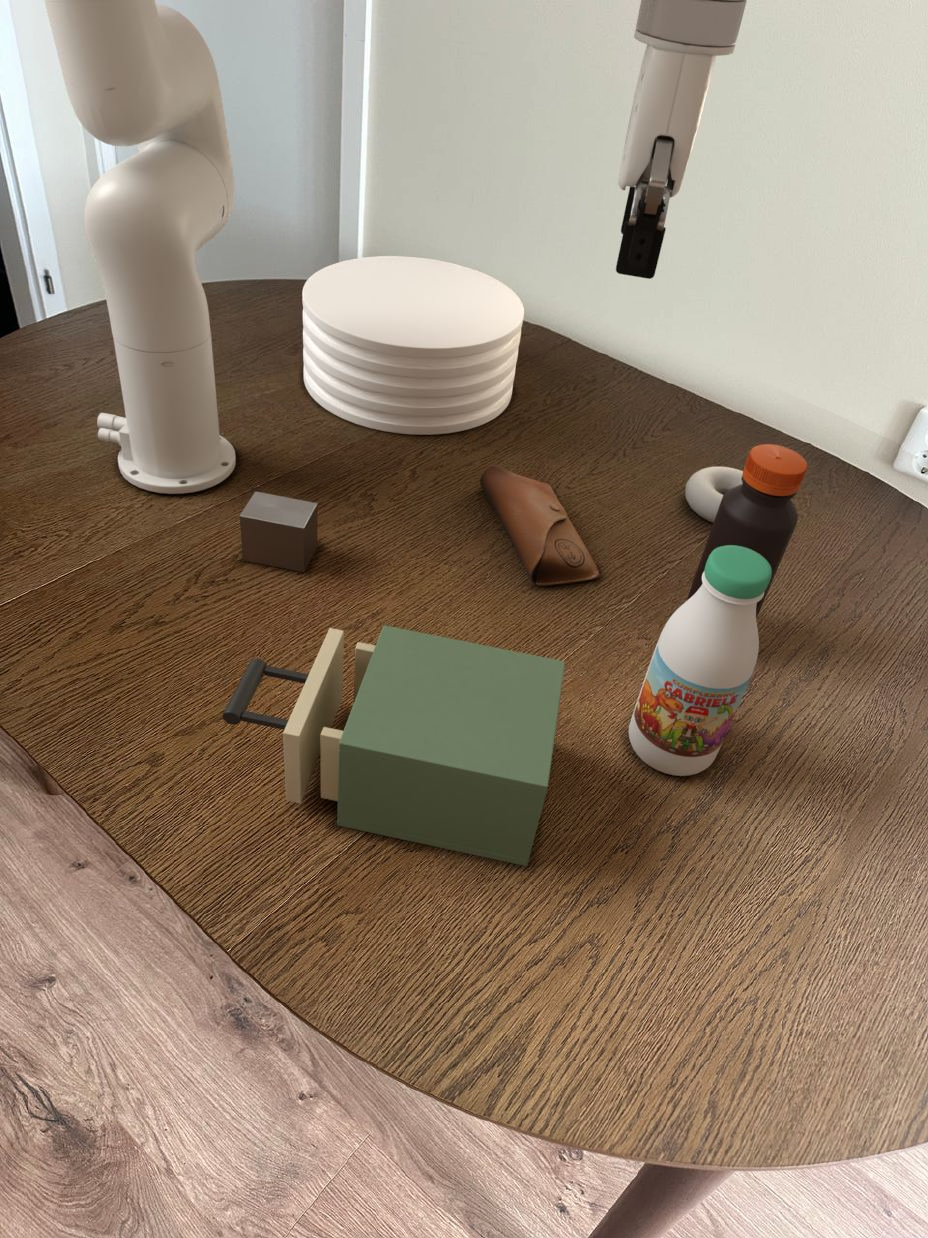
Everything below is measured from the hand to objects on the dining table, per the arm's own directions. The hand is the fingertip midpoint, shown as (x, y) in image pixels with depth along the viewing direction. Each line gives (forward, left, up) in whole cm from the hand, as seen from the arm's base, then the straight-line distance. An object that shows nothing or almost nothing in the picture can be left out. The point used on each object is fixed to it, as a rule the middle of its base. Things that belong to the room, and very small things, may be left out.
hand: (636, 254), depth 79 cm
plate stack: (-25, +29, -31) cm, 50 cm away
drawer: (-14, -36, -30) cm, 49 cm away
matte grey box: (-29, -12, -31) cm, 44 cm away
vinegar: (+15, -11, -31) cm, 36 cm away
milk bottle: (+11, -27, -31) cm, 43 cm away
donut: (+17, +12, -31) cm, 38 cm away
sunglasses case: (-4, 0, -31) cm, 31 cm away
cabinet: (-7, -36, -31) cm, 48 cm away
